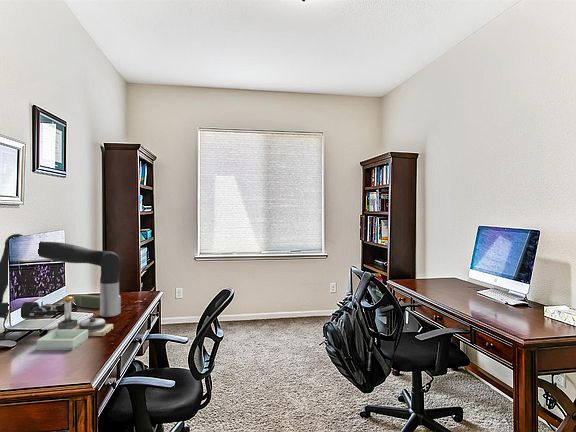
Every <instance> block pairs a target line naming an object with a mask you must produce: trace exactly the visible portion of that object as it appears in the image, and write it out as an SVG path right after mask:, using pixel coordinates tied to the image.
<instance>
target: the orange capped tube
mask: <svg viewBox="0 0 576 432" xmlns="http://www.w3.org/2000/svg"><path fill="white" fill-rule="evenodd" d="M72 300H74V296H71V295H70V296H63V297H62V301H64V314H63V315H64V318H63V320H64V323H71V320H72Z"/></svg>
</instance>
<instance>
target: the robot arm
mask: <svg viewBox="0 0 576 432" xmlns="http://www.w3.org/2000/svg"><path fill="white" fill-rule="evenodd" d="M19 236H24V235H23V234H22V233H21V234H20V233H15V234H14V233H13V234H11V235H9V236H8V237H7V238H5V239H6V240H5V241H4V248H3V253H2V256H1V258H0V318H1V319H6V318H5V316H6V313H7V312H8V306H9V304H8V302H9V301H7V302H3V301H4V295H5V292H6V291H7V289H8V286H9V284H8V239H9V238H13V237H19ZM38 254H39V256H38V257H40V258H44V259H47V260H53V261H57V262H63V263H67V264H89V265H94V266H99V267H100V278H99V296H100V309H99V316H100V317H103V318H110V317H115V316H118V315H120V314H121V313H122V312H121V308H122V307H121V305H122V298H121V295H120V277H121V259H120V256H119V255H118V254H117V253H116V252H114V251H111V250H110V251H109V250H108V251H107V250H96V249H89V248H87V247H84V246H80V245H77V244H76V245H74V244H70V243H66V242H65V243H64V242H58V241H57V242H56V241H40V243H39V249H38ZM22 302H23V304H22V305H21V317H22V318H23V319H22V320H34V319H36V318H44V317H47V316H57V315H58V311H59V312H60V311H64V305H63V304H61V305H60V304H59V303H45V304H41V305H40V304H39V302H37V301H22Z"/></svg>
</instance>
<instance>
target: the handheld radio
mask: <svg viewBox="0 0 576 432" xmlns="http://www.w3.org/2000/svg"><path fill="white" fill-rule="evenodd" d="M74 303H75V304H76V305H77V306H76V307H83V308H91V309H98V310H100V295H89V294H80V293H75V294H74V295H73V304H74Z"/></svg>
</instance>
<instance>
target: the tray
mask: <svg viewBox="0 0 576 432" xmlns="http://www.w3.org/2000/svg"><path fill="white" fill-rule="evenodd" d="M87 340H89V337H88V330H54V331H52V332H50V333H48V334H47V333H46V334H45V335H43V336H42V337H39V338H38V339H37V340H36V351H74V350H75V349H76V348H78V347H79V346H81V345H82V344H83V343H84V341H85V342H86V341H87ZM80 344H81V345H80Z"/></svg>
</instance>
